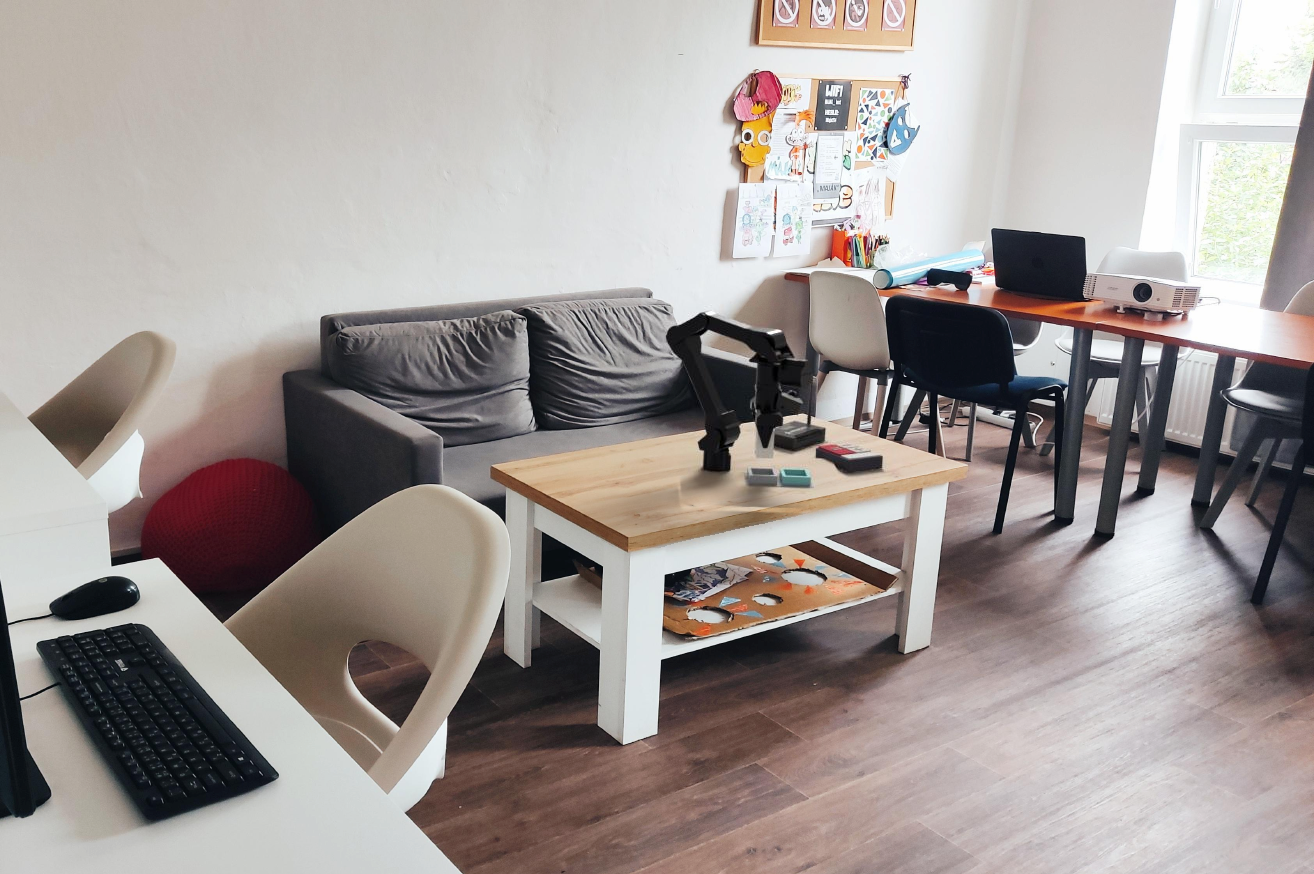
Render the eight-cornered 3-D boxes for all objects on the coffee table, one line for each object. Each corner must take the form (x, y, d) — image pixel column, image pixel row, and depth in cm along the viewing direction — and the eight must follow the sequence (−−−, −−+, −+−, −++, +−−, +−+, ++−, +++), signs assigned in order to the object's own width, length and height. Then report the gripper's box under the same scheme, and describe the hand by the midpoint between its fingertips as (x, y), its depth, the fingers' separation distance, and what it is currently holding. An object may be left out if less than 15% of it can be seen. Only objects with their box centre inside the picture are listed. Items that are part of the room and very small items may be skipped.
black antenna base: (798, 453, 294) (802, 391, 289) (756, 442, 303) (759, 382, 298) (837, 439, 308) (842, 380, 304) (796, 430, 317) (800, 372, 313)
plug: (756, 457, 262) (757, 429, 261) (754, 453, 266) (756, 425, 264) (772, 458, 262) (774, 430, 261) (771, 453, 266) (772, 426, 264)
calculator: (849, 441, 294) (883, 453, 281) (848, 456, 295) (883, 469, 282) (815, 445, 289) (848, 457, 276) (814, 460, 290) (848, 473, 277)
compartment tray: (746, 489, 261) (747, 477, 261) (743, 476, 271) (744, 465, 270) (813, 491, 262) (814, 479, 261) (808, 478, 271) (808, 467, 270)
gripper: (806, 392, 251) (802, 457, 255) (797, 375, 269) (793, 436, 273) (758, 391, 251) (754, 456, 255) (751, 374, 269) (748, 435, 273)
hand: (764, 445), depth 264 cm, fingers closed on plug, 4 cm apart
